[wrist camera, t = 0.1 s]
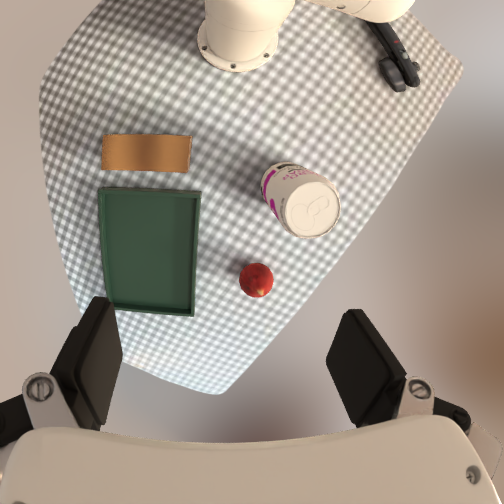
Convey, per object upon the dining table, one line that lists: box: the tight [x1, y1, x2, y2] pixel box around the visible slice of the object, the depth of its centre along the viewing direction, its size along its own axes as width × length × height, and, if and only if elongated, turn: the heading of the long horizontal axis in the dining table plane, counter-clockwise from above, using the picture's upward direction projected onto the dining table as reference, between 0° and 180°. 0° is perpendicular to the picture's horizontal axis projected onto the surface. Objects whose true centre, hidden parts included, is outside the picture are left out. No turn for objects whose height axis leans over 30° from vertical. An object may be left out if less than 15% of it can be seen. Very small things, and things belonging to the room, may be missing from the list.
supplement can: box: [261, 162, 341, 239], centre depth 39 cm, size 8×8×15 cm
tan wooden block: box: [101, 134, 193, 173], centre depth 38 cm, size 13×5×6 cm, turn 82°
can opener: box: [366, 20, 420, 92], centre depth 34 cm, size 18×7×6 cm, turn 26°
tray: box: [98, 187, 202, 317], centre depth 46 cm, size 23×17×2 cm
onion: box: [239, 263, 273, 297], centre depth 48 cm, size 6×6×8 cm
